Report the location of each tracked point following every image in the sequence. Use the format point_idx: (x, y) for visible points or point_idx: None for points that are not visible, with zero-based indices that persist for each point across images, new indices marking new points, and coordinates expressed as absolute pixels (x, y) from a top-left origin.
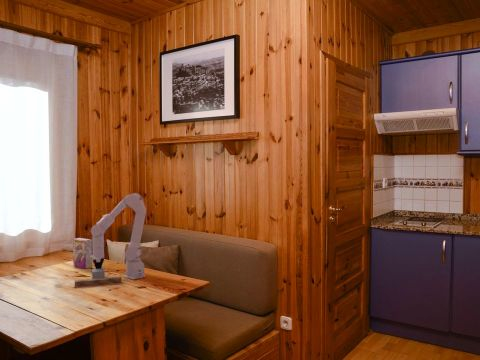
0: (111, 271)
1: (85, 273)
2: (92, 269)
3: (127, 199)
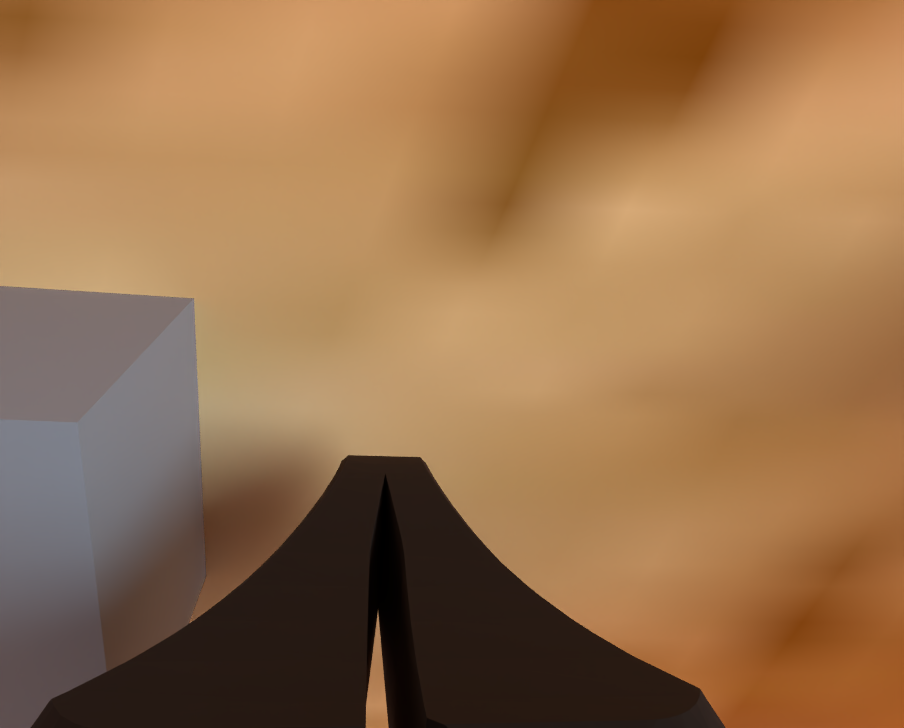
0: (722, 701)
1: (888, 123)
2: (17, 419)
3: None
